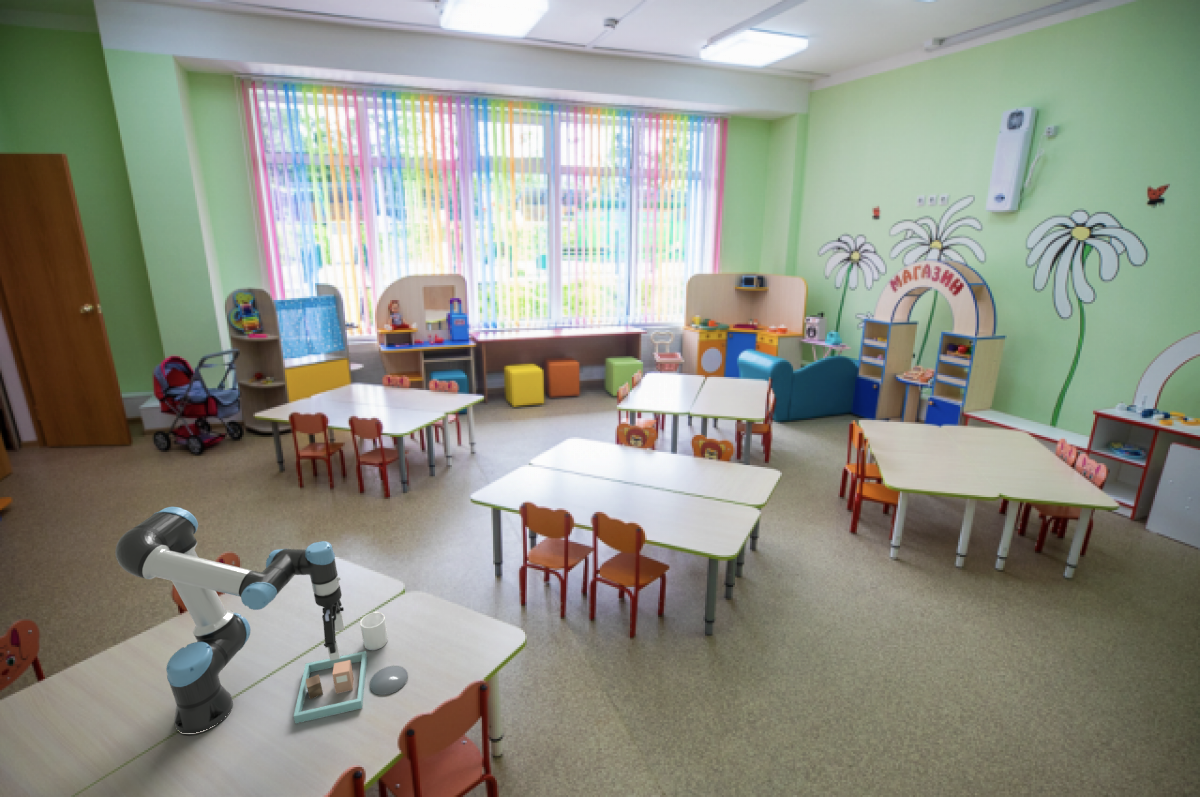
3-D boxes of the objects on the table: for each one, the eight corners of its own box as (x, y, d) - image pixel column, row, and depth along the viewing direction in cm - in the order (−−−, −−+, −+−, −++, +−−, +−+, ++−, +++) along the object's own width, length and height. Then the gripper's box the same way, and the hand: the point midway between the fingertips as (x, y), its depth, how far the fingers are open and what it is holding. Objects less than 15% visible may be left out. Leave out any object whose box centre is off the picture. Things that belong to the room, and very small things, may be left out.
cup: (361, 652, 205) (358, 629, 202) (368, 629, 217) (364, 607, 213) (386, 649, 207) (382, 626, 204) (391, 626, 218) (387, 604, 215)
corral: (295, 723, 177) (293, 716, 176) (307, 670, 198) (305, 663, 197) (362, 708, 183) (360, 700, 182) (367, 657, 203) (366, 650, 202)
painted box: (336, 694, 188) (332, 674, 185) (337, 682, 193) (334, 663, 190) (352, 690, 189) (348, 671, 187) (353, 678, 194) (350, 659, 191)
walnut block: (309, 699, 186) (307, 687, 184) (308, 691, 189) (305, 679, 188) (323, 694, 188) (320, 682, 186) (321, 686, 191) (318, 674, 190)
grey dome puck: (368, 698, 186) (368, 697, 186) (371, 671, 197) (371, 670, 197) (407, 689, 189) (407, 688, 189) (407, 663, 200) (407, 662, 200)
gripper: (335, 612, 168) (346, 669, 175) (344, 564, 191) (353, 616, 198) (307, 617, 166) (319, 675, 173) (319, 568, 189) (330, 620, 196)
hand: (337, 643), depth 185 cm, fingers open, 13 cm apart
